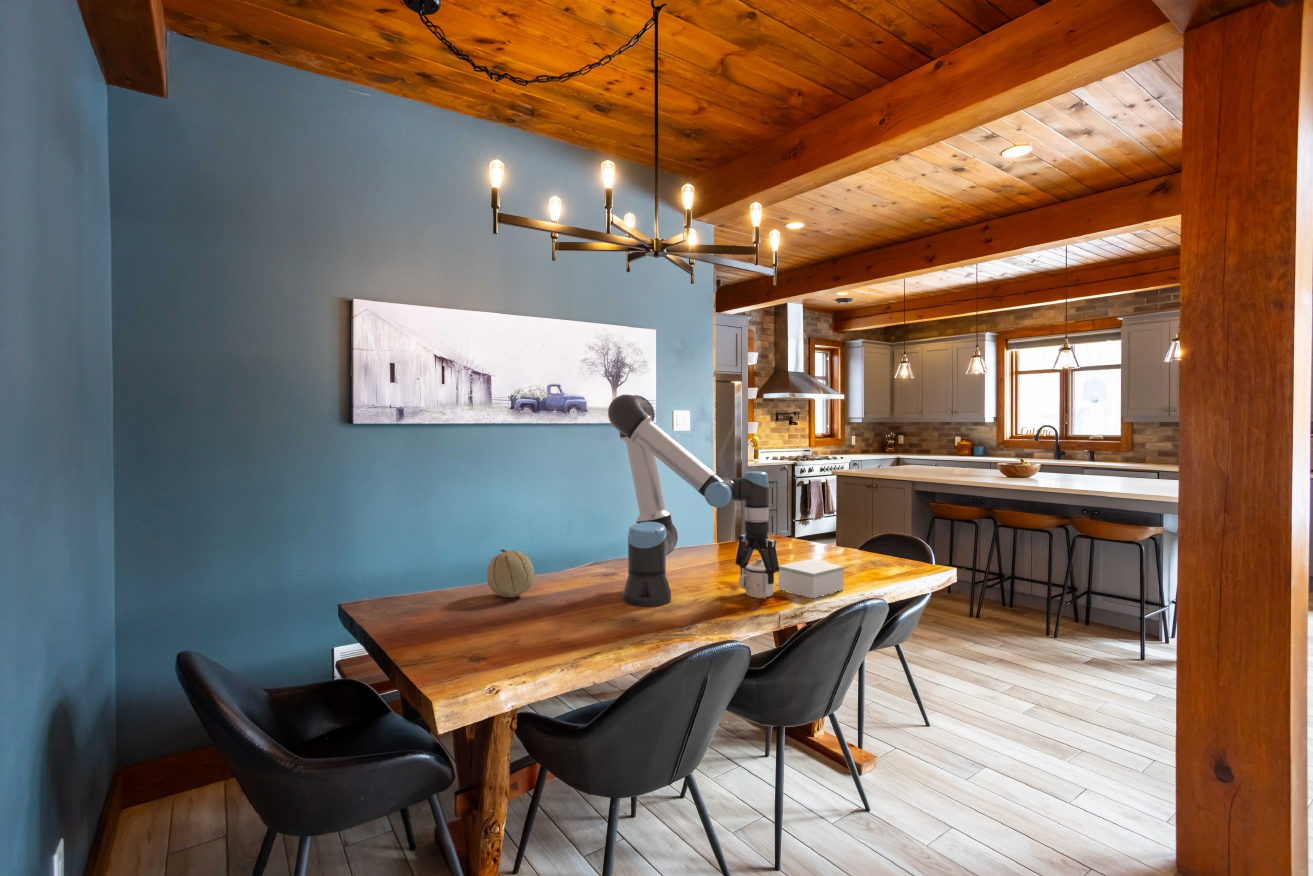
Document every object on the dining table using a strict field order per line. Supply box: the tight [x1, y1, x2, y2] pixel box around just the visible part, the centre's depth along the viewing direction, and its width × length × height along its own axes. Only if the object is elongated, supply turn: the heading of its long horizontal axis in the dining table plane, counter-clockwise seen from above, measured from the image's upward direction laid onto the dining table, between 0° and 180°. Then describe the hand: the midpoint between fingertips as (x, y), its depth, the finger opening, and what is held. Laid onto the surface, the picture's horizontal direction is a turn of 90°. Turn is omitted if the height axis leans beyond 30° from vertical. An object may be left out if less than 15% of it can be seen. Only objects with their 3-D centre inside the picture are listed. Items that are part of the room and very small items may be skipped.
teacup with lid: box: [738, 558, 774, 599], centre depth 211 cm, size 12×9×12 cm
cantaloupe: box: [486, 548, 535, 599], centre depth 209 cm, size 15×15×15 cm
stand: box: [777, 558, 845, 599], centre depth 218 cm, size 14×16×8 cm
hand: (756, 590), depth 211 cm, fingers closed on teacup with lid, 9 cm apart
